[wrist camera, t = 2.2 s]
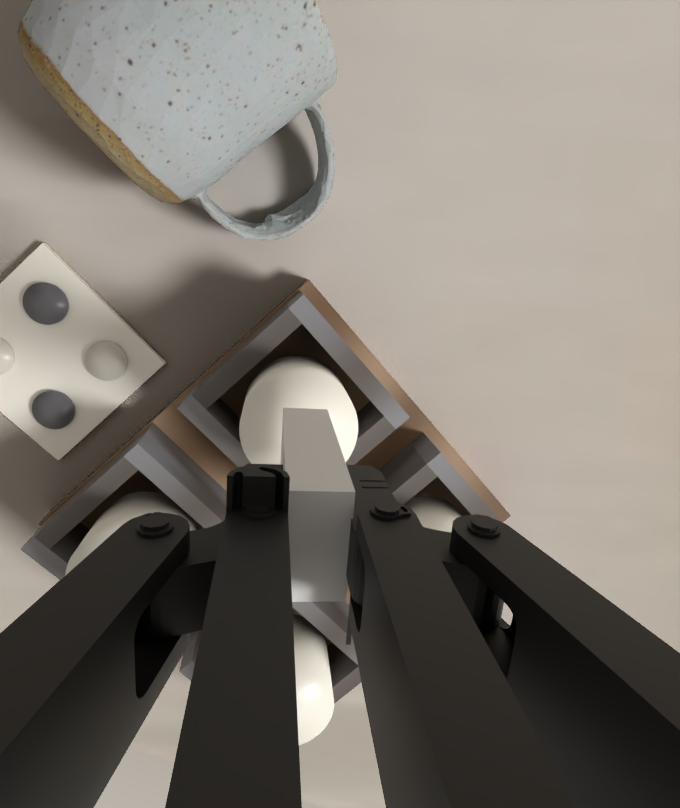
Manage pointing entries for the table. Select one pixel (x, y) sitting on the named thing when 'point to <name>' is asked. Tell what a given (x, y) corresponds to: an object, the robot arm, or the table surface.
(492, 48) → the table surface
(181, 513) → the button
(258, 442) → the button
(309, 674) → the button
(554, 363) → the table surface
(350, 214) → the table surface
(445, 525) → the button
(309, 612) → the button board
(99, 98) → the ceramic mug
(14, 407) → the card
